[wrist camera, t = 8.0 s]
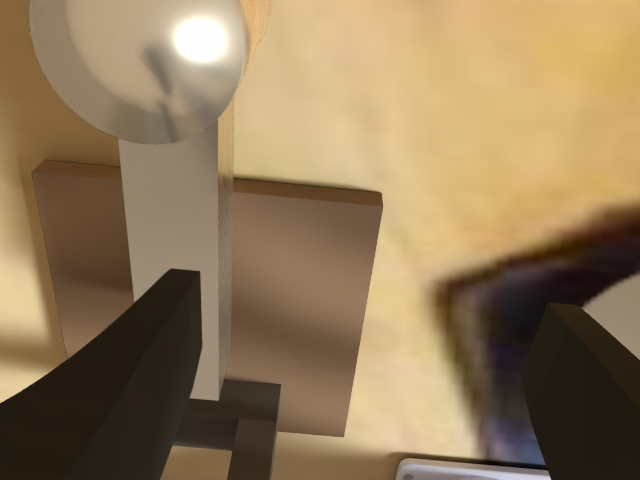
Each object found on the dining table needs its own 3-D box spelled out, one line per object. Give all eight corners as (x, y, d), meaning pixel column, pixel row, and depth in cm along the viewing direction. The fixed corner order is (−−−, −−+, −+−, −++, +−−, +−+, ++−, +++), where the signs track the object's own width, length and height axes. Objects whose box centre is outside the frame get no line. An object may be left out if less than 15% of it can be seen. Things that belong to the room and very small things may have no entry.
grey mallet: (256, 335, 22) (234, 450, 17) (147, 325, 21) (98, 437, 17) (274, -82, 14) (244, -61, 10) (109, -100, 14) (9, -86, 10)
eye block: (343, 419, 27) (343, 571, 22) (86, 396, 27) (13, 543, 21) (381, 192, 21) (395, 320, 15) (44, 159, 21) (-76, 276, 15)
